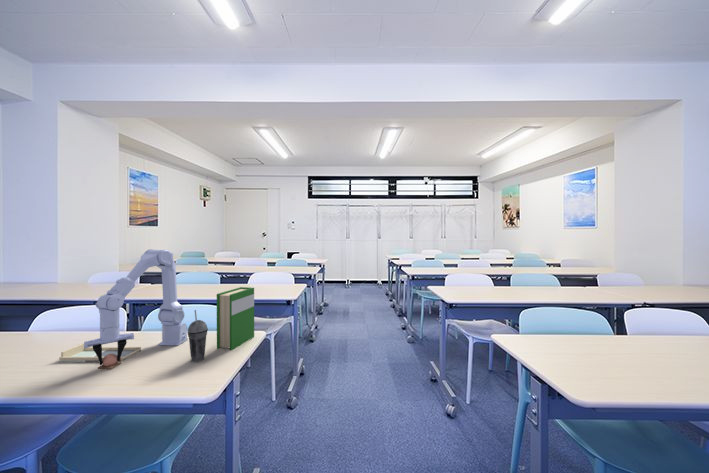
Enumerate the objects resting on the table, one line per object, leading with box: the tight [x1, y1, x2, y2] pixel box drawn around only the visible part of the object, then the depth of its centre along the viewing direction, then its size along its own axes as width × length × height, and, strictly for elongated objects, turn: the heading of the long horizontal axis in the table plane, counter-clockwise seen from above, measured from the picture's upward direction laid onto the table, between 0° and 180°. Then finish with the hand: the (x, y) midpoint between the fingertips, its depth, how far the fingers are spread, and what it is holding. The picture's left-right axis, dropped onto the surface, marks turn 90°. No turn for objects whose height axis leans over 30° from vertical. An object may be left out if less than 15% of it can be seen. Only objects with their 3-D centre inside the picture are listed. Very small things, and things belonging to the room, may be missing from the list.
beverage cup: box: [187, 309, 209, 363], centre depth 119 cm, size 7×7×20 cm
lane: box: [58, 342, 142, 363], centre depth 122 cm, size 24×11×4 cm, turn 90°
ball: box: [102, 354, 118, 366], centre depth 113 cm, size 4×4×4 cm
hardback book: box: [216, 286, 255, 351], centre depth 138 cm, size 18×7×24 cm, turn 167°
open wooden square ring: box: [97, 361, 123, 370], centre depth 113 cm, size 5×5×1 cm
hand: (110, 362), depth 113 cm, fingers closed on ball, 4 cm apart
